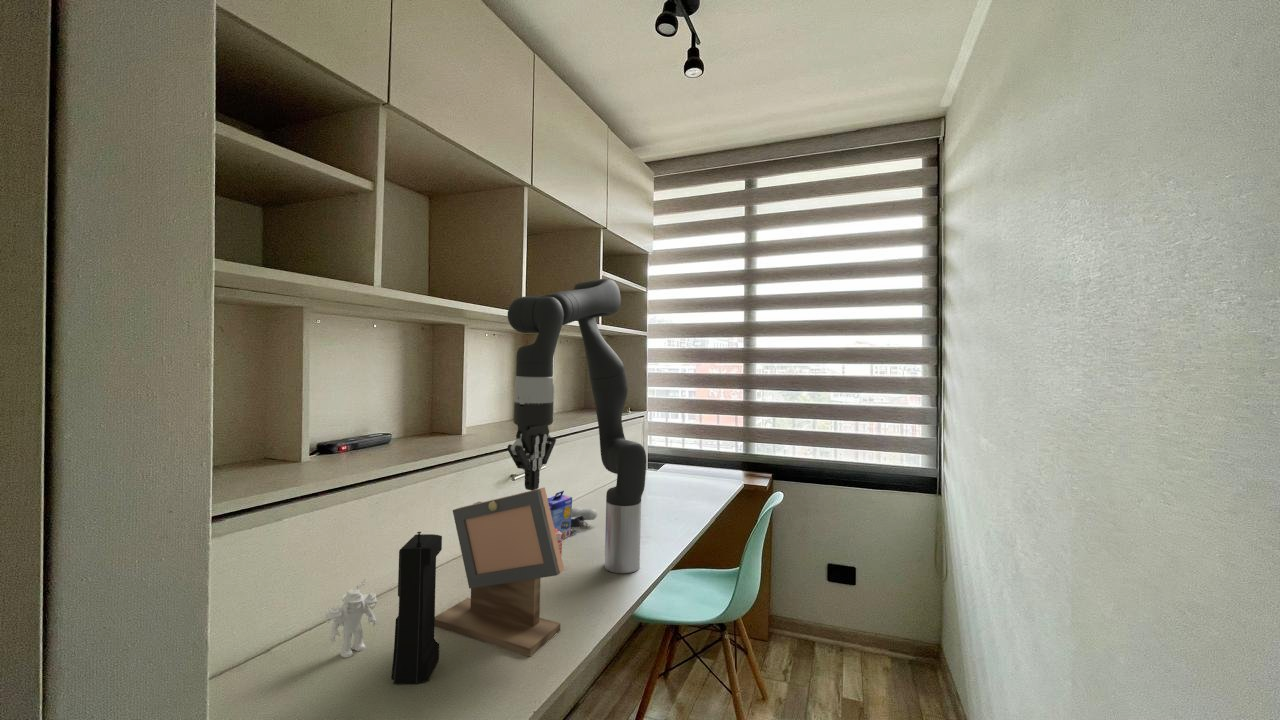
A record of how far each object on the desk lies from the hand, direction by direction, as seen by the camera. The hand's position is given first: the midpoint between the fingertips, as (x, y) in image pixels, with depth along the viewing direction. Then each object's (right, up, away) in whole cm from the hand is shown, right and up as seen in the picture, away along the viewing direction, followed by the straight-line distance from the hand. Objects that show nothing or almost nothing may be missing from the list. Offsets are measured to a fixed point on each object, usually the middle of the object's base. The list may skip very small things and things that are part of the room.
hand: (531, 489), depth 99 cm
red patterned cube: (-5, -29, +38) cm, 49 cm away
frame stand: (-8, -29, +3) cm, 30 cm away
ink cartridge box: (-5, -29, +55) cm, 62 cm away
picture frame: (-4, -18, +1) cm, 19 cm away
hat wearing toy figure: (-32, -29, -6) cm, 43 cm away
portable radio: (-18, -29, -11) cm, 35 cm away
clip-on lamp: (-2, -29, +68) cm, 75 cm away
